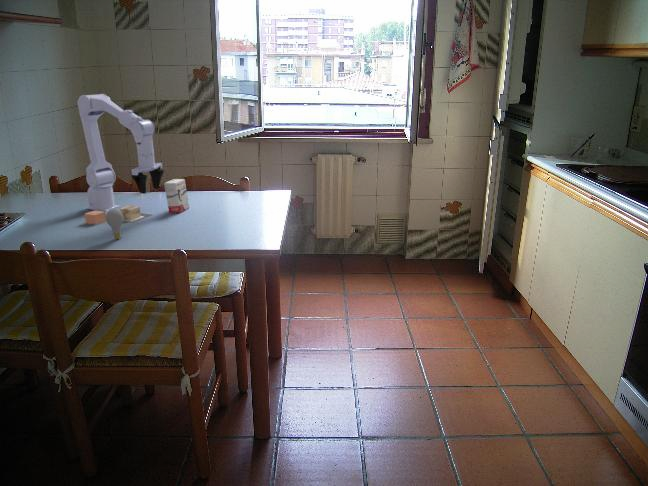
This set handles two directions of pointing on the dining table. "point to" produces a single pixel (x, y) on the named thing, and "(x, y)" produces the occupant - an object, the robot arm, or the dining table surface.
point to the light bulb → (115, 222)
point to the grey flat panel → (138, 218)
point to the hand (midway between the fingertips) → (149, 190)
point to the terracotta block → (95, 217)
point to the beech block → (130, 212)
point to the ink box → (176, 195)
